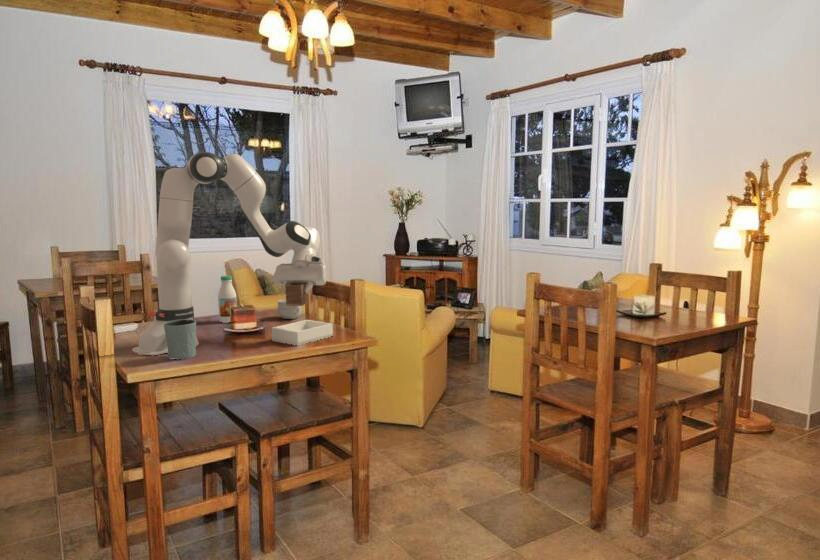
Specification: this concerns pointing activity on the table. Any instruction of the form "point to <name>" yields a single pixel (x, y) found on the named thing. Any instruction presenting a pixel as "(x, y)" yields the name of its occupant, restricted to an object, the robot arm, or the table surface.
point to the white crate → (302, 332)
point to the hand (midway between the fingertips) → (295, 293)
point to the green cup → (181, 338)
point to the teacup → (288, 310)
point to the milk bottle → (226, 299)
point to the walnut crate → (295, 294)
